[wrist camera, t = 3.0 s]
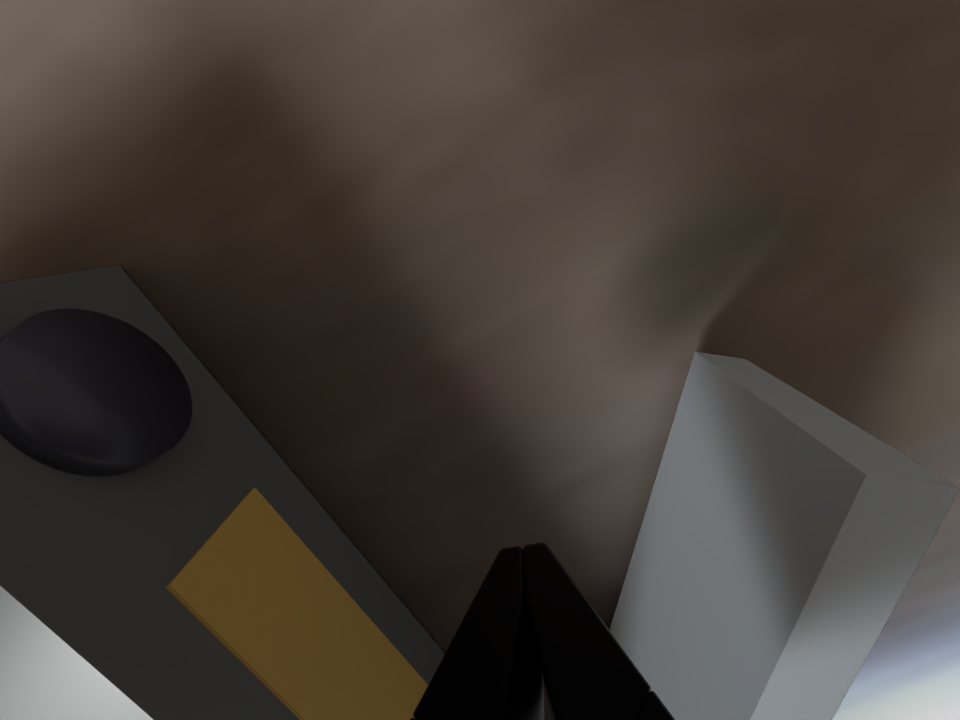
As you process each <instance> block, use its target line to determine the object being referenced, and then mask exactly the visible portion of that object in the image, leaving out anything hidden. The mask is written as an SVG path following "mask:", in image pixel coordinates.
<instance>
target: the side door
mask: <svg viewBox="0 0 960 720" xmlns="http://www.w3.org/2000/svg"><path fill="white" fill-rule="evenodd" d="M959 490H960V488H959V487H957V486H955V485H954V484H952V483H950V482H949V481H947V480H945V479H944V478H942V477H940V476H939V475H937V474H935V473H934V472H932V471H930V470H929V469H927V468H925V467H924V466H922V465H920V464H919V463H917V462H915V461H914V460H912V459H910V458H909V457H907V456H905V455H904V454H902V453H900V452H899V451H897V450H896V449H894V448H892V447H891V446H889V445H887V444H886V443H884V442H882V441H881V440H879V439H877V438H876V437H874V436H872V435H871V434H869V433H867V432H866V431H864V430H862V429H861V428H859V427H857V426H856V425H854V424H852V423H851V422H849V421H847V420H846V419H844V418H842V417H841V416H839V415H837V414H836V413H834V412H832V411H831V410H829V409H827V408H826V407H824V406H823V405H821V404H819V403H818V402H816V401H814V400H813V399H811V398H809V397H808V396H806V395H804V394H803V393H801V392H799V391H798V390H796V389H794V388H793V387H791V386H789V385H788V384H786V383H784V382H783V381H781V380H779V379H778V378H776V377H774V376H773V375H771V374H769V373H768V372H766V371H764V370H763V369H761V368H759V367H758V366H756V365H754V364H753V363H751V362H750V361H748V360H746V359H742V358H735V357H728V356H722V355H715V354H708V353H701V352H694V356H693V359H692V362H691V365H690V369H689V372H688V375H687V378H686V382H685V385H684V388H683V392H682V395H681V398H680V401H679V405H678V408H677V411H676V414H675V418H674V421H673V424H672V427H671V431H670V434H669V437H668V440H667V444H666V447H665V450H664V454H663V457H662V460H661V463H660V467H659V470H658V473H657V476H656V480H655V483H654V486H653V489H652V493H651V496H650V499H649V502H648V506H647V509H646V512H645V516H644V519H643V522H642V525H641V529H640V532H639V535H638V538H637V542H636V545H635V548H634V551H633V555H632V558H631V561H630V564H629V568H628V571H627V574H626V577H625V581H624V584H623V587H622V591H621V594H620V597H619V600H618V604H617V607H616V610H615V613H614V617H613V620H612V623H611V626H610V630H609V631H610V632H611V633H612V635H613V636H614V637H615V639H616V640H617V641H618V643H619V644H620V646H621V647H622V648H623V650H624V651H625V652H626V654H627V655H628V656H629V658H630V659H631V661H632V662H633V663H634V665H635V666H636V667H637V669H638V670H639V671H640V673H641V674H642V676H643V677H644V678H645V680H646V681H647V682H648V684H649V685H650V687H651V690H652V691H654V692H655V693H656V694H657V696H658V697H659V698H660V700H661V701H662V702H663V704H664V705H665V707H666V708H667V709H668V711H669V712H670V713H671V715H672V716H673V717H674V719H675V720H832V719H833V717H834V715H835V713H836V711H837V710H838V708H839V706H840V704H841V702H842V701H843V699H844V697H845V695H846V693H847V692H848V690H849V688H850V686H851V684H852V683H853V681H854V679H855V677H856V675H857V674H858V672H859V670H860V668H861V666H862V665H863V663H864V661H865V659H866V657H867V656H868V654H869V652H870V650H871V648H872V647H873V645H874V643H875V641H876V640H877V638H878V636H879V634H880V632H881V631H882V629H883V627H884V625H885V623H886V622H887V620H888V618H889V616H890V614H891V613H892V611H893V609H894V607H895V605H896V604H897V602H898V600H899V598H900V596H901V595H902V593H903V591H904V589H905V587H906V586H907V584H908V582H909V580H910V578H911V577H912V575H913V573H914V571H915V569H916V568H917V566H918V564H919V562H920V560H921V559H922V557H923V555H924V553H925V551H926V550H927V548H928V546H929V544H930V542H931V541H932V539H933V537H934V535H935V533H936V532H937V530H938V528H939V526H940V524H941V523H942V521H943V519H944V517H945V515H946V514H947V512H948V510H949V508H950V506H951V505H952V503H953V501H954V499H955V497H956V496H957V494H958V492H959Z"/></svg>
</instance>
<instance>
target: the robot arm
mask: <svg viewBox="0 0 960 720" xmlns="http://www.w3.org/2000/svg"><path fill="white" fill-rule="evenodd" d="M543 679H544V683H545V687H546V692H547V696H548V701H549V705H550V709H551V713H552V717H553V720H675V719H674V717H673V716H672V715H671V713H670V712H669V711H668V709H667V708H666V707H665V705H664V704H663V702H662V701H661V700H660V698H659V697H658V696H657V694H656V693H655V692H654V691H652V690H651V687H650V685H649V684H648V682H647V681H646V680H645V678H644V677H643V676H642V674H641V673H640V671H639V670H638V669H637V667H636V666H635V665H634V663H633V662H632V661H631V659H630V658H629V656H628V655H627V654H626V652H625V651H624V650H623V648H622V647H621V646H620V644H619V643H618V641H617V640H616V639H615V637H614V636H613V635H612V633H611V632H610V631H609V629H608V628H607V626H606V625H605V624H604V622H603V621H602V620H601V618H600V617H599V615H598V614H597V613H596V611H595V610H594V609H593V607H592V606H591V605H590V603H589V602H588V600H587V599H586V598H585V596H584V595H583V594H582V592H581V591H580V590H579V588H578V587H577V585H576V584H575V583H574V581H573V580H572V579H571V577H570V576H569V574H568V573H567V572H566V570H565V569H564V568H563V566H562V565H561V564H560V562H559V561H558V559H557V558H556V557H555V555H554V554H553V553H552V551H551V550H550V549H549V547H548V546H547V545H546V544H545V543H537V544H530V545H526V546H524V549H523V548H522V547H520V546H516V547H510V548H503V549H501V550H500V551H499V553H498V555H497V557H496V559H495V560H494V562H493V564H492V566H491V568H490V570H489V572H488V574H487V575H486V577H485V579H484V581H483V583H482V585H481V587H480V589H479V591H478V592H477V594H476V596H475V598H474V600H473V602H472V604H471V606H470V607H469V609H468V611H467V613H466V615H465V617H464V619H463V621H462V623H461V624H460V626H459V628H458V630H457V632H456V634H455V636H454V638H453V639H452V641H451V643H450V645H449V647H448V649H447V651H446V653H445V655H444V656H443V658H442V660H441V662H440V664H439V666H438V668H437V670H436V671H435V673H434V675H433V677H432V679H431V681H430V683H429V685H428V686H427V688H426V690H425V692H424V694H423V696H422V698H421V700H420V702H419V703H418V705H417V707H416V709H415V711H414V713H413V717H414V718H411V719H410V720H544V686H543Z"/></svg>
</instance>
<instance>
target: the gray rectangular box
mask: <svg viewBox="0 0 960 720" xmlns="http://www.w3.org/2000/svg"><path fill="white" fill-rule="evenodd" d="M444 655H445V653H444V652H443V651H442V649H441V648H440V647H439V646H438V645H437V643H436V642H435V641H434V640H433V639H432V638H431V636H430V635H429V634H428V633H427V632H426V630H425V629H424V628H423V627H422V626H421V624H420V623H419V622H418V621H417V620H416V618H415V617H414V616H413V615H412V614H411V612H410V611H409V610H408V609H407V608H406V607H405V605H404V604H403V603H402V602H401V601H400V599H399V598H398V597H397V596H396V595H395V593H394V592H393V591H392V590H391V589H390V587H389V586H388V585H387V584H386V583H385V581H384V580H383V579H382V578H381V577H380V576H379V574H378V573H377V572H376V571H375V570H374V568H373V567H372V566H371V565H370V564H369V562H368V561H367V560H366V559H365V558H364V556H363V555H362V554H361V553H360V552H359V550H358V549H357V548H356V547H355V546H354V545H353V543H352V542H351V541H350V540H349V539H348V537H347V536H346V535H345V534H344V533H343V531H342V530H341V529H340V528H339V527H338V525H337V524H336V523H335V522H334V521H333V519H332V518H331V517H330V516H329V515H328V514H327V512H326V511H325V510H324V509H323V508H322V506H321V505H320V504H319V503H318V502H317V500H316V499H315V498H314V497H313V496H312V494H311V493H310V492H309V491H308V490H307V488H306V487H305V486H304V485H303V484H302V483H301V481H300V480H299V479H298V478H297V477H296V475H295V474H294V473H293V472H292V471H291V469H290V468H289V467H288V466H287V465H286V463H285V462H284V461H283V460H282V459H281V457H280V456H279V455H278V454H277V453H276V451H275V450H274V449H273V448H272V447H271V446H270V444H269V443H268V442H267V441H266V440H265V438H264V437H263V436H262V435H261V434H260V432H259V431H258V430H257V429H256V428H255V426H254V425H253V424H252V423H251V422H250V420H249V419H248V418H247V417H246V416H245V415H244V413H243V412H242V411H241V410H240V409H239V407H238V406H237V405H236V404H235V403H234V401H233V400H232V399H231V398H230V397H229V395H228V394H227V393H226V392H225V391H224V389H223V388H222V387H221V386H220V385H219V384H218V382H217V381H216V380H215V379H214V378H213V376H212V375H211V374H210V373H209V372H208V370H207V369H206V368H205V367H204V366H203V364H202V363H201V362H200V361H199V360H198V358H197V357H196V356H195V355H194V354H193V353H192V351H191V350H190V349H189V348H188V347H187V345H186V344H185V343H184V342H183V341H182V339H181V338H180V337H179V336H178V335H177V333H176V332H175V331H174V330H173V329H172V327H171V326H170V325H169V324H168V323H167V322H166V320H165V319H164V318H163V317H162V316H161V314H160V313H159V312H158V311H157V310H156V308H155V307H154V306H153V305H152V304H151V302H150V301H149V300H148V299H147V298H146V296H145V295H144V294H143V293H142V292H141V291H140V289H139V288H138V287H137V286H136V285H135V283H134V282H133V281H132V280H131V279H130V277H129V276H128V275H127V274H126V273H125V271H124V270H123V269H122V268H121V267H120V265H117V266H110V267H104V268H97V269H90V270H83V271H77V272H70V273H63V274H56V275H50V276H43V277H36V278H30V279H23V280H16V281H9V282H3V283H0V720H410V719H411V718H414V717H413V713H414V711H415V709H416V707H417V705H418V703H419V702H420V700H421V698H422V696H423V694H424V692H425V690H426V688H427V686H428V685H429V683H430V681H431V679H432V677H433V675H434V673H435V671H436V670H437V668H438V666H439V664H440V662H441V660H442V658H443V656H444Z"/></svg>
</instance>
